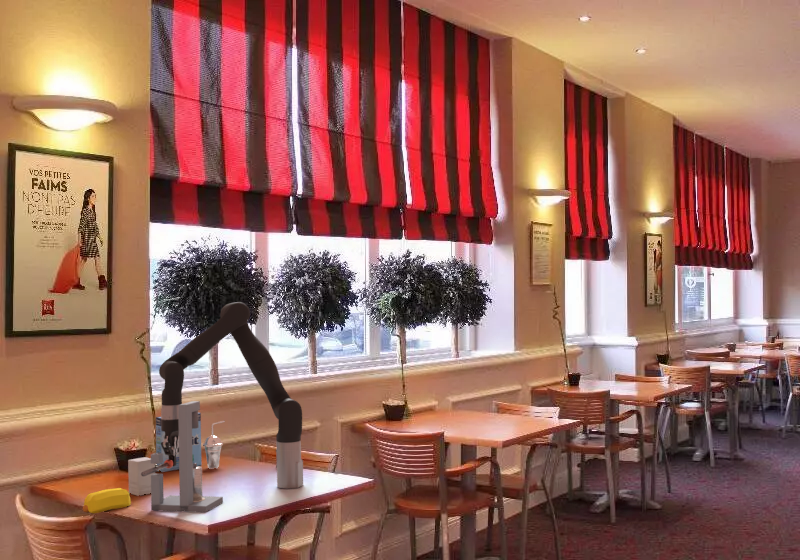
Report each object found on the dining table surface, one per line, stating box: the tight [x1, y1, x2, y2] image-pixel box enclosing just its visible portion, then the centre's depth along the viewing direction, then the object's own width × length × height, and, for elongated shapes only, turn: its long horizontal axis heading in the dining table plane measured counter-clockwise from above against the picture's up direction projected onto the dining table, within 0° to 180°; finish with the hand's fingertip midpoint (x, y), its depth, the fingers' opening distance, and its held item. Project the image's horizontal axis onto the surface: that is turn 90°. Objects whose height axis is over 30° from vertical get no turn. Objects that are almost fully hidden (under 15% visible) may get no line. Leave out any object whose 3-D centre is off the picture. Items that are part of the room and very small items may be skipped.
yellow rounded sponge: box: [82, 487, 132, 515], centre depth 297 cm, size 18×7×8 cm
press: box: [150, 400, 224, 513], centre depth 299 cm, size 20×14×36 cm
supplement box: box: [127, 456, 156, 497], centre depth 321 cm, size 7×7×13 cm
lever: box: [141, 459, 173, 477], centre depth 295 cm, size 3×20×3 cm, turn 168°
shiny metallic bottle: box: [193, 463, 203, 501], centre depth 300 cm, size 5×5×12 cm
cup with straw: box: [202, 420, 225, 470], centre depth 368 cm, size 8×9×20 cm
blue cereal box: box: [155, 412, 203, 473], centre depth 369 cm, size 20×5×23 cm, turn 134°
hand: (172, 465), depth 307 cm, fingers closed
